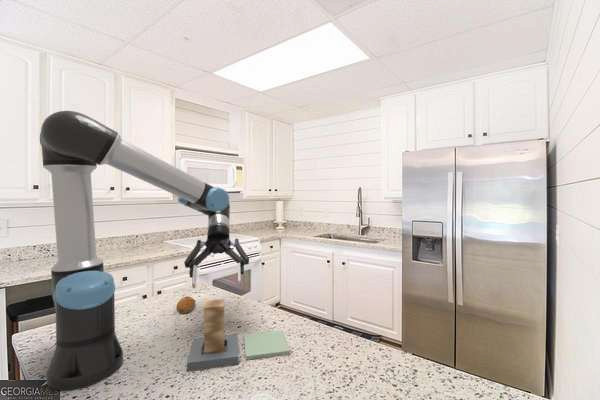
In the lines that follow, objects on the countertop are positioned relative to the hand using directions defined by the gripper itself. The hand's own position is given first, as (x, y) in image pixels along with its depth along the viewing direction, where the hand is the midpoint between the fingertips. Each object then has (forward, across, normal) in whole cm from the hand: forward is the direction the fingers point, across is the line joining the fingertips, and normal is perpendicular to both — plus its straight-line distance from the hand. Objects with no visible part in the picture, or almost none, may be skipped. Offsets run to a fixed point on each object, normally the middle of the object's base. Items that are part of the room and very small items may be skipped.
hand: (216, 284), depth 88 cm
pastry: (-6, +12, -29) cm, 32 cm away
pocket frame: (+19, 0, -4) cm, 19 cm away
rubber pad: (+18, -14, -5) cm, 23 cm away
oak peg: (+19, 0, -4) cm, 19 cm away
